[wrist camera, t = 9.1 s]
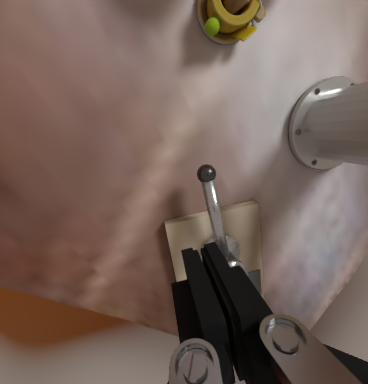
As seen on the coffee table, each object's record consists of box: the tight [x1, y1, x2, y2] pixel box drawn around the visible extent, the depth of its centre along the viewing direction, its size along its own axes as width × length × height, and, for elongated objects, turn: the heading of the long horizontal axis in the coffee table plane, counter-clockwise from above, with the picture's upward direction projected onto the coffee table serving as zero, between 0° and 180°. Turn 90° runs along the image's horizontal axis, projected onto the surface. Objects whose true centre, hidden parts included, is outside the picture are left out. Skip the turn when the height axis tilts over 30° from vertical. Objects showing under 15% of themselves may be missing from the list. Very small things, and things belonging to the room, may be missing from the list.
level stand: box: [164, 200, 264, 299], centre depth 32 cm, size 14×18×2 cm
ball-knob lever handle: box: [197, 165, 248, 276], centre depth 27 cm, size 23×6×4 cm, turn 14°
